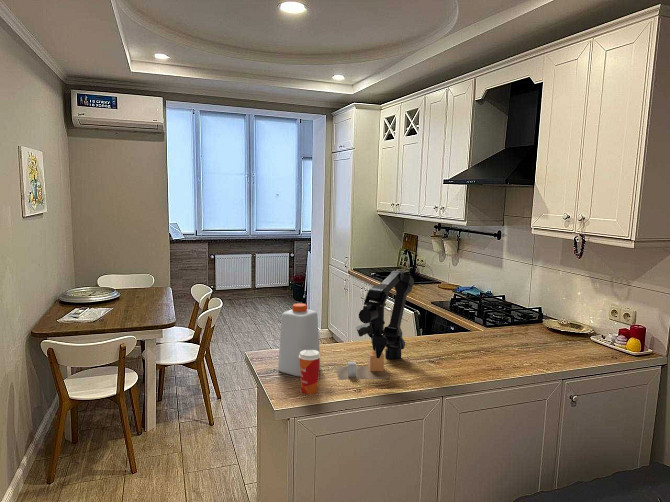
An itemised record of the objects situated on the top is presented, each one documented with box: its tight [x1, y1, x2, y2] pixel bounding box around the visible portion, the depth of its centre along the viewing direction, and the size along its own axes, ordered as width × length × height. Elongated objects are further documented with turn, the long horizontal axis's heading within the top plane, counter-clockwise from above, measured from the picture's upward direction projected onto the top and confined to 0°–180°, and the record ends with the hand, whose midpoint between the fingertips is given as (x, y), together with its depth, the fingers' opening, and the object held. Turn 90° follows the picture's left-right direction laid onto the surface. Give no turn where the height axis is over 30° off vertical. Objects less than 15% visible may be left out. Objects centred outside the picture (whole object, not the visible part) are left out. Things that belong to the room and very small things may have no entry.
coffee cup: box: [299, 350, 321, 396], centre depth 174 cm, size 8×8×15 cm
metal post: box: [347, 361, 357, 378], centre depth 186 cm, size 3×3×6 cm
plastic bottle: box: [277, 302, 321, 378], centre depth 194 cm, size 15×15×28 cm
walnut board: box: [335, 365, 389, 381], centre depth 191 cm, size 20×14×1 cm
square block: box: [367, 350, 385, 371], centre depth 195 cm, size 6×6×7 cm
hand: (376, 354), depth 194 cm, fingers open, 9 cm apart
